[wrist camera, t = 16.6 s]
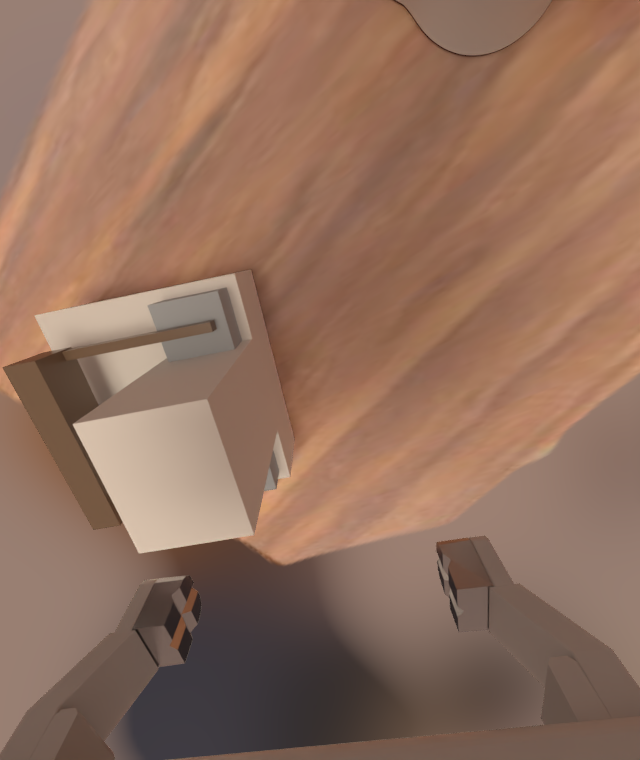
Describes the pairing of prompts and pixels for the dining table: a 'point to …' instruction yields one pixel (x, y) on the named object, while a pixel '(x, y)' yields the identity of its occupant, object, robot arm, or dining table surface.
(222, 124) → the dining table surface
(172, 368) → the pillar on square base
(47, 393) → the glasses frame
